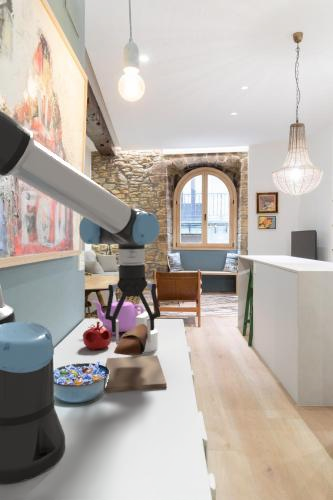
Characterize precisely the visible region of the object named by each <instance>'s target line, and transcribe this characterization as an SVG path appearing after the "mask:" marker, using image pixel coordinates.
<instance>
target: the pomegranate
mask: <svg viewBox="0 0 333 500" xmlns="http://www.w3.org/2000/svg"><path fill="white" fill-rule="evenodd" d="M110 332H111V331H109V330H107V329H106V328H104V325H103V324H102V325H101V321H96V325H95V324H91V325H90V326H89V327H87V330H85V331H84V332H83V333H82V341H83V344H84V345H85V347H86V348H87V349H89V350H92V351H95V350H103V349H106V348H107V347H109V345H110V344H111V341H112V335H111V333H110Z"/></svg>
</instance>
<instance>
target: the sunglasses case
mask: <svg viewBox="0 0 333 500" xmlns="http://www.w3.org/2000/svg"><path fill="white" fill-rule="evenodd" d="M146 341H147V326H146V325H145V324H140V325H138V326H136V327H134V328H132V329H131V330H129V331H128V332H124V333H123V334H122V335H121V338H120V339H119V343H118V345H116V347H115V348H114V351H113V354H116V355H123V356H140V355H141V356H142V354H143V353H145V352H144V350H145V345H146Z"/></svg>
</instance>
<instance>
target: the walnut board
mask: <svg viewBox="0 0 333 500" xmlns="http://www.w3.org/2000/svg"><path fill="white" fill-rule="evenodd" d="M106 367H107V368H108V369H109V370H110V374H109V379H108V382H107V386H106V388H105V387H104V393H114V392H126V391H127V392H129V391H142V390H152V389H153V390H154V389H155V390H156V389H166V388H167V386H168V385H167V384H168V383H167V381H166V377H165V375H164V372H163V368H162V365H161V362H160V359H159V356H158V355H157V354H154V355H141V356H140V355H136V356H123V357H107V358H106Z"/></svg>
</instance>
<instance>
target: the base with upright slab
mask: <svg viewBox="0 0 333 500" xmlns="http://www.w3.org/2000/svg"><path fill="white" fill-rule="evenodd" d="M153 313H154V311H153V312H152V314H153ZM147 318H149V315H148V313H147V311H143V313H142V314H141V313H139V316H137V317H136V326H138V325H140V324H145V325H146V326H147ZM150 332H151V343H148V341H146V345H145V350H144V352H143V353H150V352H154V351H156V350H158V347H159V343H158V342H159V341H158V339H159V338H158V329H156V328H154V330H150Z"/></svg>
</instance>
